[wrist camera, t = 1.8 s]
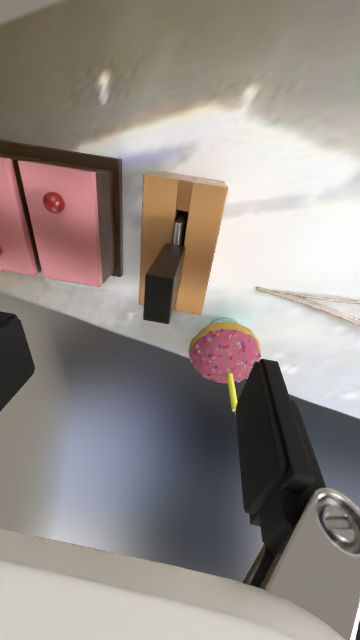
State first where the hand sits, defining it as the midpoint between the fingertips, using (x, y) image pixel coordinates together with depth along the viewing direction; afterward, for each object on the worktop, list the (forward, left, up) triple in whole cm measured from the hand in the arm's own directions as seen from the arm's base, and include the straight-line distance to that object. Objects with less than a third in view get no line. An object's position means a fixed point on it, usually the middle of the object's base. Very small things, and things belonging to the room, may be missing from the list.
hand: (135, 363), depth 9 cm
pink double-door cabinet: (0, -14, -20) cm, 24 cm away
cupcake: (+12, +7, -20) cm, 24 cm away
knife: (0, 0, -19) cm, 19 cm away
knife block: (0, 0, -20) cm, 20 cm away
